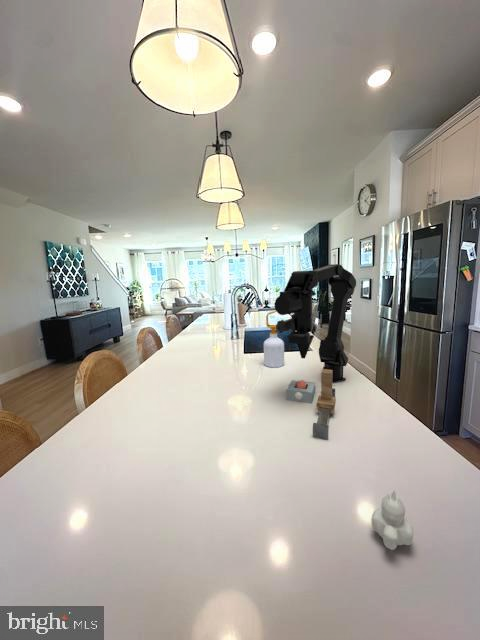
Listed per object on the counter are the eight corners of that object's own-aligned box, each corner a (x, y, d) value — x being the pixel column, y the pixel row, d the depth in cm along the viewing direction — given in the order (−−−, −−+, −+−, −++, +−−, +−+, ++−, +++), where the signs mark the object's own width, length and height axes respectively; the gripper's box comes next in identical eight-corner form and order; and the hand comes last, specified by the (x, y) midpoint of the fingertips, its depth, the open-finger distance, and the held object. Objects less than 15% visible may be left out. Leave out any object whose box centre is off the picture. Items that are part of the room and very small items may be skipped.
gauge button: (297, 390, 90) (297, 380, 89) (306, 391, 89) (306, 381, 88) (296, 394, 88) (296, 383, 87) (304, 395, 86) (304, 384, 86)
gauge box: (292, 389, 94) (291, 380, 93) (315, 392, 90) (315, 382, 90) (286, 399, 86) (286, 389, 86) (311, 403, 83) (311, 392, 82)
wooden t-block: (318, 402, 81) (319, 368, 79) (335, 405, 79) (336, 370, 77) (316, 411, 76) (316, 375, 74) (334, 413, 74) (334, 377, 72)
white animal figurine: (412, 531, 41) (416, 485, 40) (411, 570, 36) (415, 519, 35) (374, 515, 44) (376, 472, 43) (367, 549, 39) (369, 501, 38)
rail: (323, 396, 87) (323, 387, 87) (335, 398, 86) (335, 388, 85) (312, 436, 66) (312, 425, 66) (327, 439, 65) (328, 427, 64)
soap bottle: (283, 368, 115) (283, 311, 111) (262, 367, 117) (261, 312, 113) (284, 361, 124) (283, 309, 120) (265, 361, 126) (263, 309, 122)
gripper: (285, 306, 96) (285, 348, 99) (269, 315, 79) (271, 365, 82) (316, 307, 92) (316, 350, 94) (307, 315, 75) (308, 368, 77)
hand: (303, 358), depth 87 cm, fingers closed
